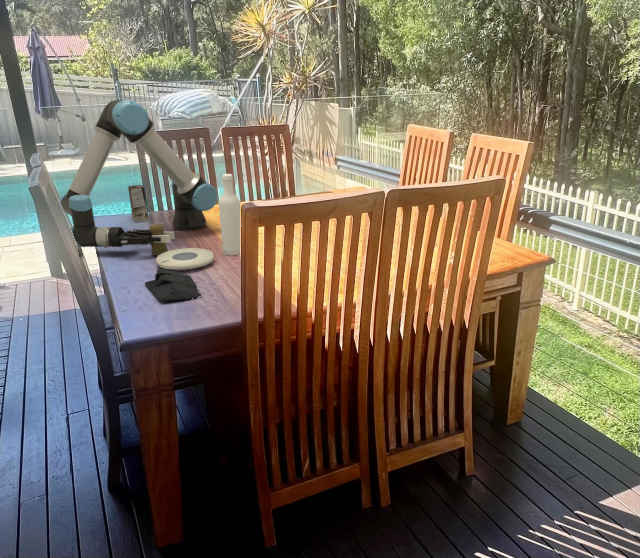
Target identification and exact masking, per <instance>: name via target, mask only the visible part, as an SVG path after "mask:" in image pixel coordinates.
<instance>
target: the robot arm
mask: <svg viewBox="0 0 640 558" xmlns="http://www.w3.org/2000/svg"><path fill="white" fill-rule="evenodd" d="M154 127H155V126H154V122H153V121H152V120H151V118H150V117H149V113H148V112H147V110H146V109H145V107H144V106H143V105H142V104H140V103H138V102H136V101H135V100H130V99H125V100H123V99H114V100H111V101H109V102H108V103H107V104H106V105H105V106H104V108H103V109H102V111H101V113H100V116H99V118H98V120H97V122H96V124H95V127H94V128H95V133H94V135H93V137H92V139H91V141H90V144H89V145H88V148H87V150H86V153H85V154H84V156H83V158H82V161H81V163H80V165H79V167H78V169H77V171H76V174H75V175H74V178H73V180H72V182H71V184H70V186H69V188H68V190H67V192H66V194H64V195H63V196H62V197H61V198H60V200H59V204H60V203H61V205H62V207H63V209H64V210H63V209H62V210H63V212H64V211H65V212H64V213H66V214H68V215H69V216H70V217H71V221H72V224H73V226H72V227H70V228H71V230H72V233H73V236H74V239H75V241H76V243H77V245H78V246H77V247H80V248H81V247H82V248H92V247H93V248H94V247H96V248H98V247H99V248H100V247H103V248H104V249H107V248H109V247H110V248H111V247H112V248H122V247H123V246H129V245H130V246H131V245H133V246H134V245H137V246H138V245H143V246H144V245H147V246H148V245H150V246H152V245H153V244H152V242H153V243H169V244H170V243H171V240H174V239H175V231H180V230H191V231H197V230H196V229H198V230H202V229H205V228H206V227H207V226H208V225H207V219H206V217H205V215H204V212H208V211H210V210H211V209H213V208H214V207H215V205H216V204H217V201H218V196H219V195H218V191H217V189H216V188H215V186H213V185H212V184H211V183H208V182H207V181H206V180H205V178H203V177H202V176H201V175H200V174H199V173H198V172H193V171H192V170H191V169H190V168H189V166H187V164H186V163H185V162H184V161H183V159H181V157H180V156H178V154H177V153H176V152H175V151H174V150H173V149H172V147H170V146H169V145H168V143H167V142H166V141H165V140H164V139H163V137H161V136H160V135H159V133H158V132H157V131H156V130H155V129H154ZM122 136H123V137H125V139H126V140H128V142H129V144H137V145H138V147H140V149H141V150H143V152H144V153H145V154H146V155H147V156H148V157H149V158H150V159H151V160H152V161H153V162H154V164H155V165H157V167H158V168H160V170H161V171H162V172H163V173H164V174H165V175H166V176H167V177H168V178H169V179H170V180H171V187H172V195H173V204H174V205H173V207H174V214H173V218H172V223H171V224H172V229H173V230H175V229H176V230H175V231H164V232H163V235H152V234H151V232H150V229H138V228H137V229H135V228H134V229H133V230H127V231H125V230H124V228H123V227H122V226H112V227H111V226H96V222H95V218H94V210H93V203H92V199H91V197H90V195H91V193H92V190H93V188H94V186H95V184H96V182H97V181H98V178H99V176H100V174H101V172H102V169H103V168H104V166H105V164H106V162H107V160H108V157H109V155H110V152H111V151H112V149H113V147H114V145H115V143H116V141H119V140H120V139H121V137H122ZM204 227H205V228H204ZM201 228H202V229H201Z"/></svg>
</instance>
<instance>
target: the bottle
mask: <svg viewBox="0 0 640 558" xmlns="http://www.w3.org/2000/svg"><path fill="white" fill-rule="evenodd" d="M222 185H223V194H222V195H221V196H220V198H219V200H218V201H219V202H218V209H219V219H220V220H219V222H220V223H219V224H220V234H221V235H220V237H221V250H222V254H223V255H224V256H228V255H229V256H233V255H235V256H239V255H241V254H240V211H241V202H240V199H239V197H238V195H236V194H235V191H234V176H233V174H231V173H224V174H222Z"/></svg>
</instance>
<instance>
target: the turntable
mask: <svg viewBox="0 0 640 558" xmlns="http://www.w3.org/2000/svg"><path fill="white" fill-rule="evenodd" d="M156 256H157V257H156V258H155V259H156V265H157V266H158V267H160V268H162V269H164V270H170V269H173V270H172V271H175V270H183V269H192V268H197V269H199V268H198V267H200V268H202V267H205V266H207V265H210V263H212V262H213V261H214V259H215V258H214V257H215V256H214V253H213V251H211V250H209V249H205V248H197V247H190V248H189V247H187V248H177V249H171V250H168V251H167V252H165V253H162V254H160V255H156ZM201 266H202V267H201Z"/></svg>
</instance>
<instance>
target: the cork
mask: <svg viewBox="0 0 640 558" xmlns="http://www.w3.org/2000/svg"><path fill="white" fill-rule="evenodd" d="M149 230H150V232H151V234H152V235H163V232H165V227H164V225H163V224H159V223H155V224H151V225H150V227H149ZM152 244H153V245H151V255H153V256H159V255H160V254H162V253H165V252H167V251H169V250H168V248H167V247H168V246H167V244H166V243H153V242H152Z"/></svg>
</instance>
